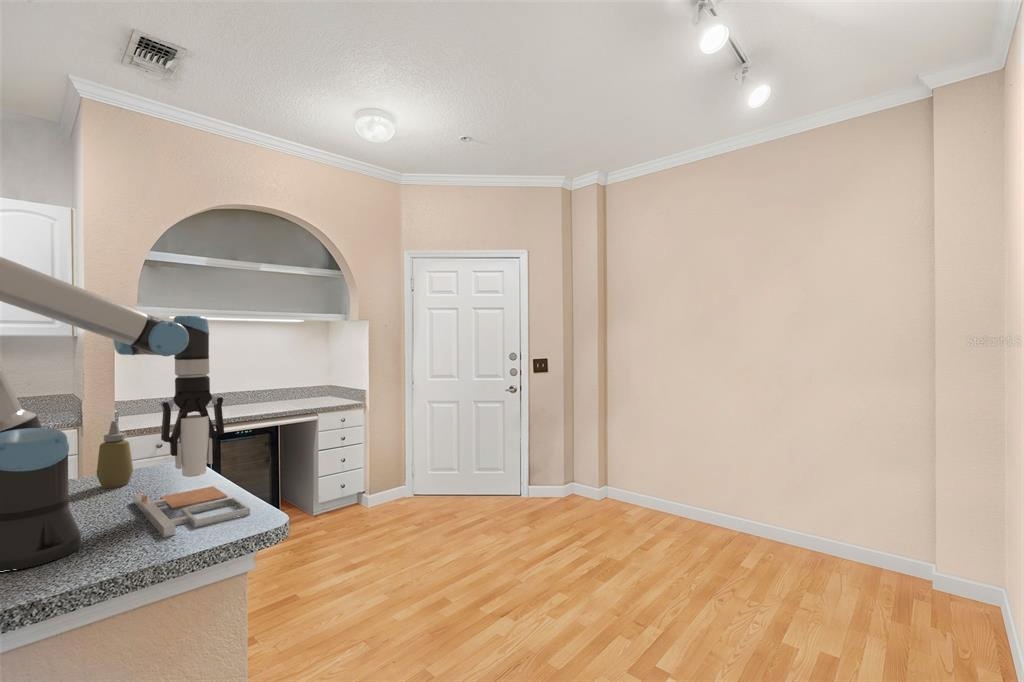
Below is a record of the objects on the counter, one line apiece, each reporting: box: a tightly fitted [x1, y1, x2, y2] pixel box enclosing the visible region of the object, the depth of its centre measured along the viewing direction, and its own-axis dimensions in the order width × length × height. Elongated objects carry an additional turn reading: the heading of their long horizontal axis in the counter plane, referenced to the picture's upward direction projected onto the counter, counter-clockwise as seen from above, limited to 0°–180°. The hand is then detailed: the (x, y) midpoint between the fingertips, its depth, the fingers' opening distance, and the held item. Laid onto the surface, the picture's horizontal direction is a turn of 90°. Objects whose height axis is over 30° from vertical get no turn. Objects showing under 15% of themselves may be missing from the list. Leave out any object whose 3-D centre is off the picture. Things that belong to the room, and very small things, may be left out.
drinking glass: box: [178, 414, 210, 478], centre depth 129 cm, size 7×7×15 cm
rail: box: [133, 486, 251, 538], centre depth 121 cm, size 32×18×3 cm, turn 46°
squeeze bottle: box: [95, 420, 134, 489], centre depth 141 cm, size 8×8×18 cm
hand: (194, 465), depth 129 cm, fingers closed on drinking glass, 6 cm apart
